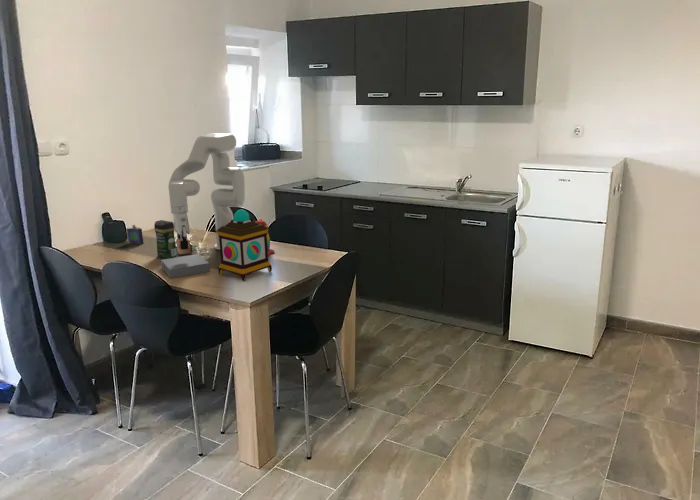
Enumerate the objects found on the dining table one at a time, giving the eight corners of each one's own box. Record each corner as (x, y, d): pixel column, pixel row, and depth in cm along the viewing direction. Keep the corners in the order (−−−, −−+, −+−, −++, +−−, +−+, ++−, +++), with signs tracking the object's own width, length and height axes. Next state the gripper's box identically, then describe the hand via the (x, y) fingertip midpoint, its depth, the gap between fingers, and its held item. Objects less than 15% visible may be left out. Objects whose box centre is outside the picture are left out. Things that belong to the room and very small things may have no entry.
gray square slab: (199, 261, 285) (198, 254, 284) (210, 271, 270) (209, 263, 269) (161, 268, 277) (160, 259, 276) (170, 278, 262) (169, 269, 261)
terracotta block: (187, 250, 274) (186, 237, 273) (190, 252, 270) (189, 240, 268) (177, 251, 272) (175, 239, 270) (179, 254, 268) (178, 241, 266)
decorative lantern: (247, 264, 280) (243, 203, 272) (276, 271, 268) (272, 207, 259) (214, 275, 265) (208, 210, 257) (243, 283, 253) (238, 216, 245)
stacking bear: (266, 258, 289) (264, 223, 284) (248, 256, 292) (245, 222, 288) (276, 252, 299) (274, 218, 294) (258, 250, 302) (256, 217, 297)
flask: (127, 244, 321) (124, 225, 318) (130, 242, 324) (128, 224, 321) (142, 244, 319) (139, 225, 316) (145, 243, 321) (142, 224, 318)
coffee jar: (154, 256, 295) (150, 221, 290) (167, 253, 302) (163, 218, 297) (167, 259, 290) (163, 223, 285) (179, 255, 296) (176, 220, 291)
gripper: (192, 211, 260) (196, 250, 265) (182, 205, 274) (186, 242, 279) (175, 213, 257) (179, 253, 261) (166, 207, 271) (170, 245, 276)
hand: (183, 247), depth 270 cm, fingers closed on terracotta block, 4 cm apart
